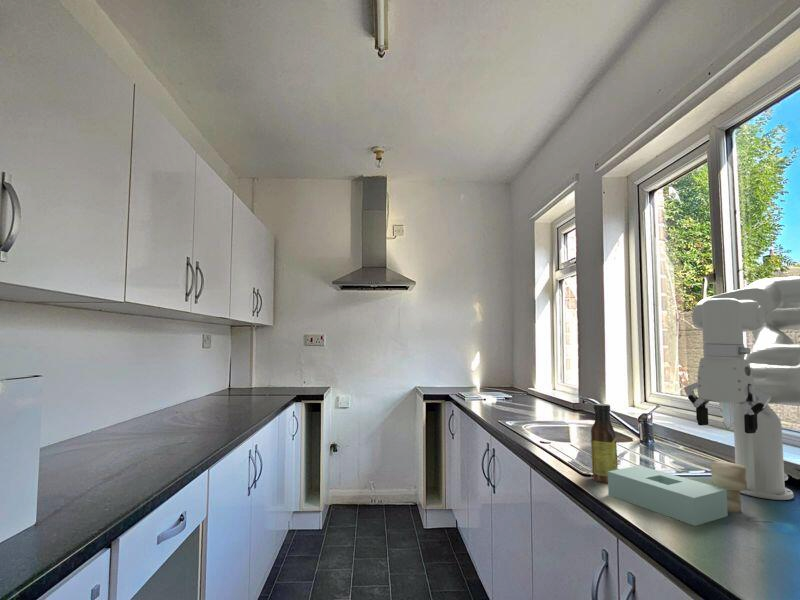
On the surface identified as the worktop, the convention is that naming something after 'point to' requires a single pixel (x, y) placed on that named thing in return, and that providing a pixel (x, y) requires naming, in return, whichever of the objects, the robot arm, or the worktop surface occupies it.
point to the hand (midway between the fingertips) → (725, 428)
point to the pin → (730, 482)
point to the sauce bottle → (603, 444)
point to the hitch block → (668, 494)
